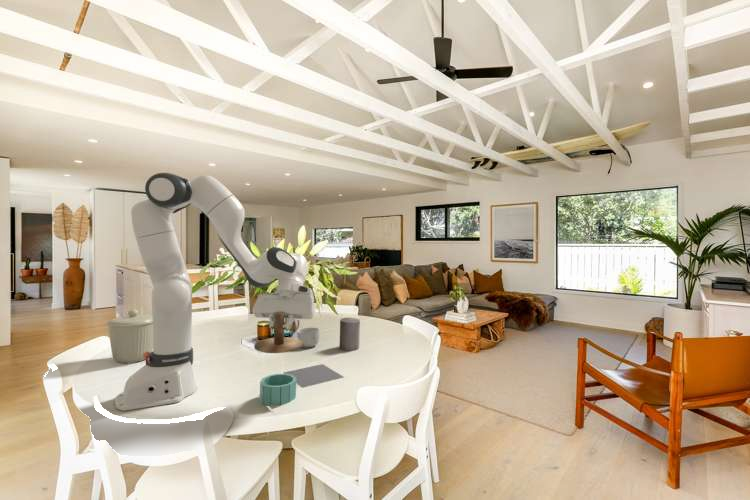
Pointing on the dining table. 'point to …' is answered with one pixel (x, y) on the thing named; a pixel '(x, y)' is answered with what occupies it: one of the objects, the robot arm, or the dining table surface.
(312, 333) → the teacup
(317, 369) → the mat
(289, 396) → the bowl
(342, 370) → the dining table surface
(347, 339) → the pillar candle
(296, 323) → the ornament
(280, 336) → the lid
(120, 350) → the canister
